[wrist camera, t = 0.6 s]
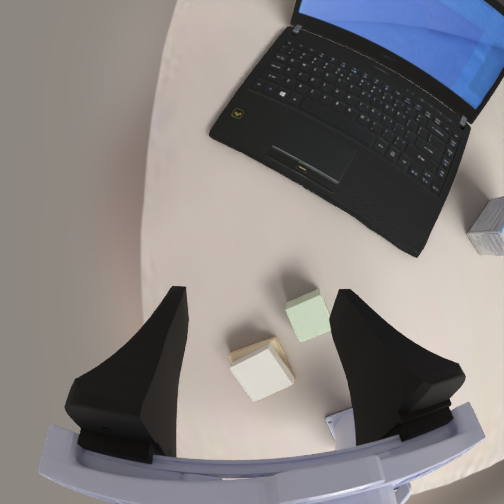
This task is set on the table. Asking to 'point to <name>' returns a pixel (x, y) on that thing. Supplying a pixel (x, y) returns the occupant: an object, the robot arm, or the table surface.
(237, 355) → the bottom slab
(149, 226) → the table surface
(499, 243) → the medicine box
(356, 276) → the table surface
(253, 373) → the top slab
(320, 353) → the table surface
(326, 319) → the cube
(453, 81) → the laptop
